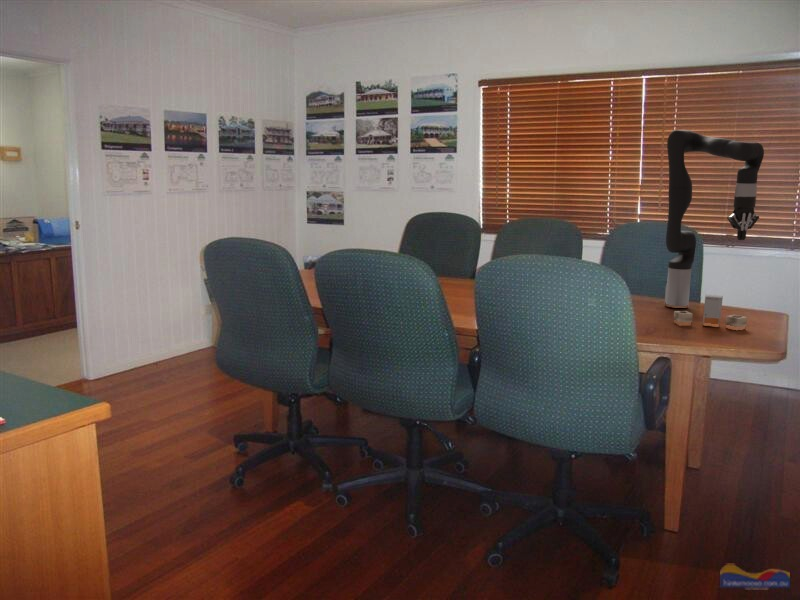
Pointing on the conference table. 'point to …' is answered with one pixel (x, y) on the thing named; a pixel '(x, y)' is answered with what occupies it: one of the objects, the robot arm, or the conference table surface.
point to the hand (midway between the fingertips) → (741, 239)
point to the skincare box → (712, 309)
